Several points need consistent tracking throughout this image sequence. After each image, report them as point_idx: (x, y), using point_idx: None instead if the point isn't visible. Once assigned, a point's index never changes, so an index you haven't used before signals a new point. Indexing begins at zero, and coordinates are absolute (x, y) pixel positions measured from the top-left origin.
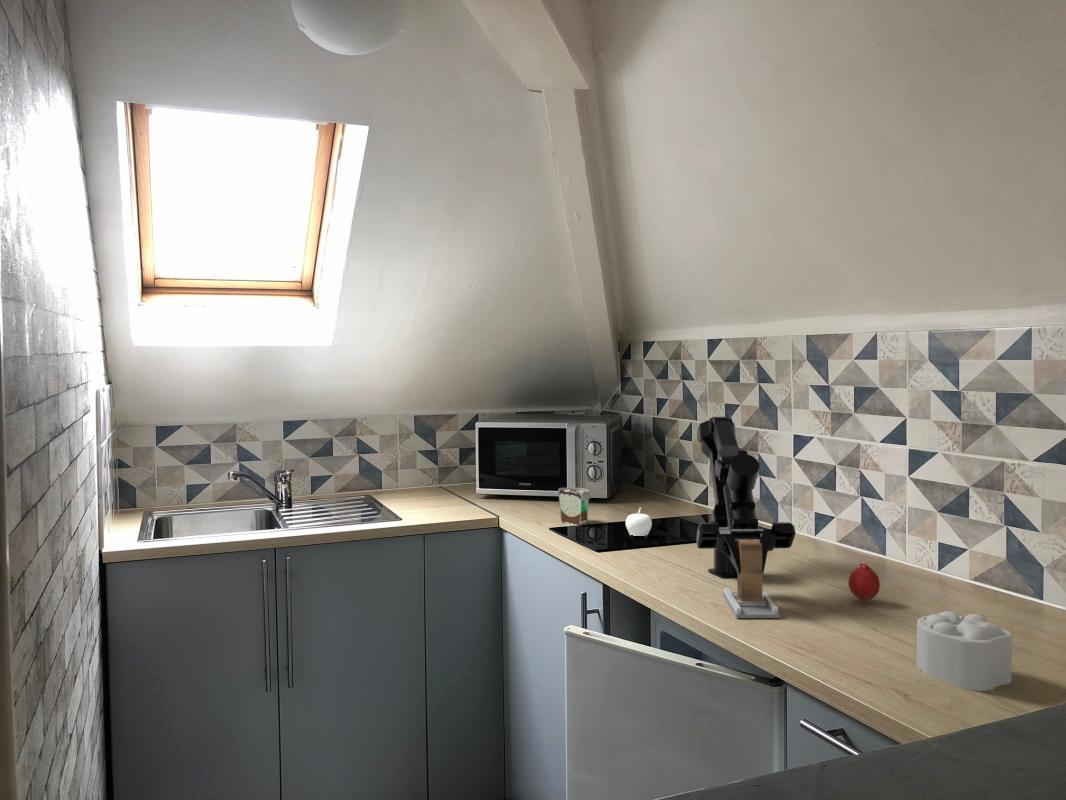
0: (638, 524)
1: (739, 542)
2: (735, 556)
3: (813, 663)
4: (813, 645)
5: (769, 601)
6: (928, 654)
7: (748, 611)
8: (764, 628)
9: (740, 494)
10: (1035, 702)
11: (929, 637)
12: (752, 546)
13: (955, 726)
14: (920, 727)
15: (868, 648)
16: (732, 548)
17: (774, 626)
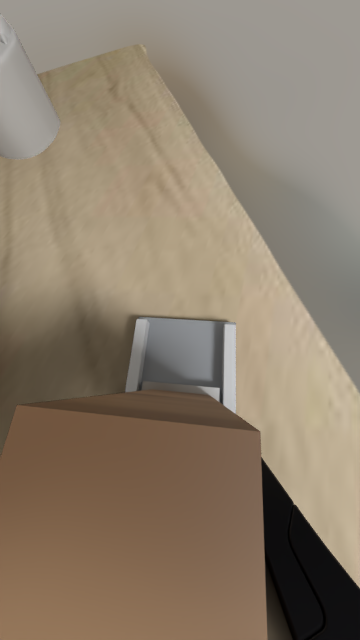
0: None
1: (260, 619)
2: (262, 475)
3: (168, 144)
4: (140, 196)
5: (135, 379)
6: (42, 87)
7: (201, 343)
8: (190, 267)
9: None
10: None
11: (24, 51)
12: (128, 414)
13: (109, 52)
14: (137, 49)
15: (70, 186)
16: (319, 561)
17: (168, 277)
